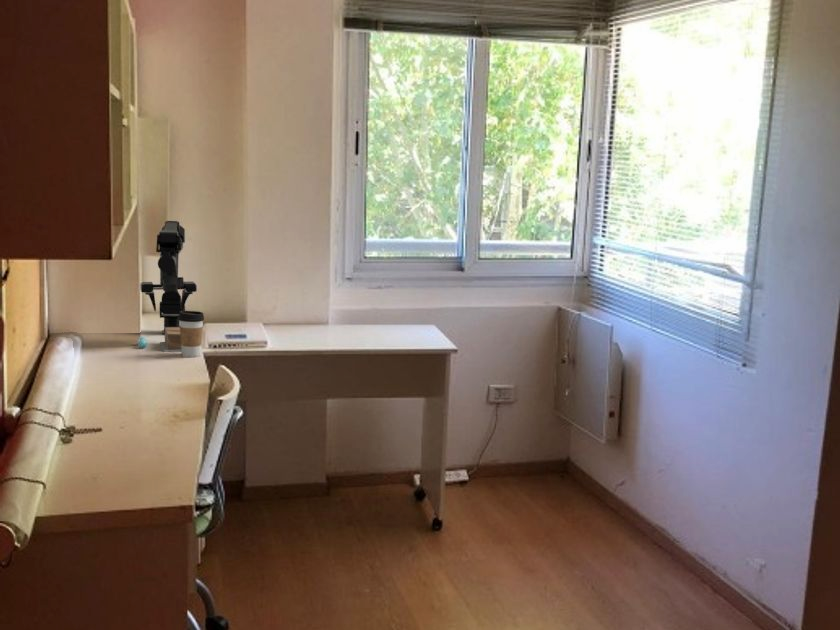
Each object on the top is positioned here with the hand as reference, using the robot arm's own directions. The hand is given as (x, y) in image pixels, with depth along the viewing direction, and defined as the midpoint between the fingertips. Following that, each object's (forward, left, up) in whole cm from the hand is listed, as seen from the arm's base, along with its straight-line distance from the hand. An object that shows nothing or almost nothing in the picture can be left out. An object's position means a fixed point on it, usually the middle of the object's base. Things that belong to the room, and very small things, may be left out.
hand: (168, 310), depth 320 cm
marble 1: (+2, -9, -12) cm, 15 cm away
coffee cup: (+20, +6, -12) cm, 24 cm away
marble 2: (+7, -9, -12) cm, 16 cm away
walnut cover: (+7, +2, -11) cm, 13 cm away
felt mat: (+7, +2, -12) cm, 14 cm away
